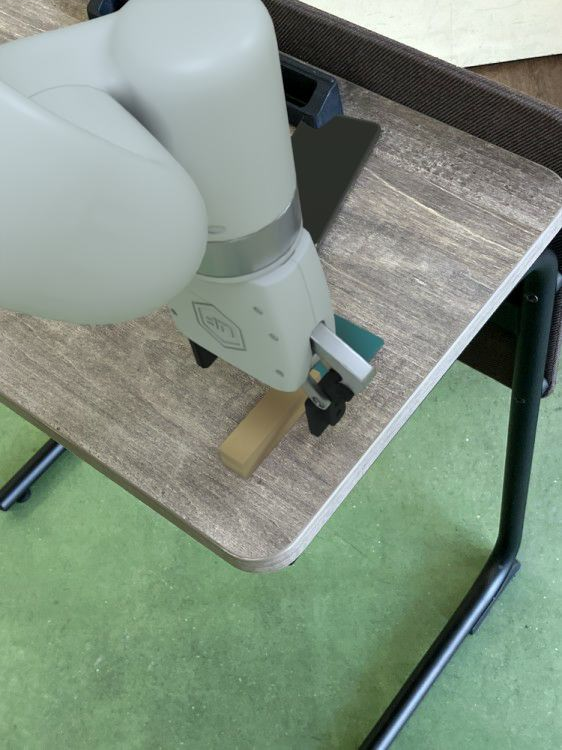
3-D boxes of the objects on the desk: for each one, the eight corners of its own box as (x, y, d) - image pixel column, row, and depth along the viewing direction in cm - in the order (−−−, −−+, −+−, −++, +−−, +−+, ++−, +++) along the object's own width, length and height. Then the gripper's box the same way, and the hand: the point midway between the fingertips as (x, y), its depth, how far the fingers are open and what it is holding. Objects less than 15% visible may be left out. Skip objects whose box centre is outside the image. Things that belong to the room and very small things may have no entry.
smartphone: (383, 122, 84) (314, 251, 76) (384, 131, 85) (315, 260, 77) (307, 106, 86) (232, 229, 78) (308, 115, 87) (234, 238, 79)
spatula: (262, 490, 66) (258, 474, 64) (207, 455, 68) (202, 438, 66) (384, 343, 72) (384, 324, 70) (330, 314, 74) (329, 295, 72)
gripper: (67, 194, 53) (141, 366, 67) (319, 332, 46) (341, 491, 60) (156, 113, 56) (208, 294, 70) (406, 231, 48) (408, 406, 63)
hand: (270, 385), depth 65 cm, fingers open, 9 cm apart
